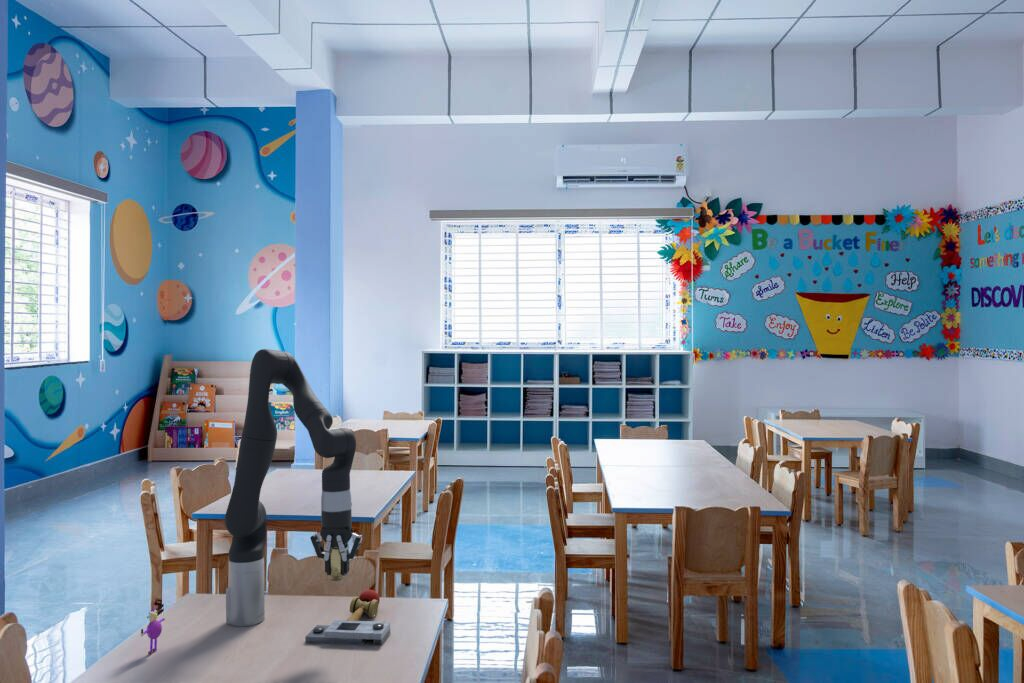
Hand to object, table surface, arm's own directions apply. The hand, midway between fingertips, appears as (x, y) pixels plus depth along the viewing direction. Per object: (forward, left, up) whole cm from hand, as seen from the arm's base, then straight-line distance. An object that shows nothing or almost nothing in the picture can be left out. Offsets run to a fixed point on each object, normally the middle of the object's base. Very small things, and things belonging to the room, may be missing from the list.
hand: (337, 574), depth 196 cm
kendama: (+1, +17, -18) cm, 24 cm away
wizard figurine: (-43, -11, -18) cm, 48 cm away
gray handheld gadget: (+2, +3, -17) cm, 18 cm away
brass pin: (0, 0, -1) cm, 1 cm away
